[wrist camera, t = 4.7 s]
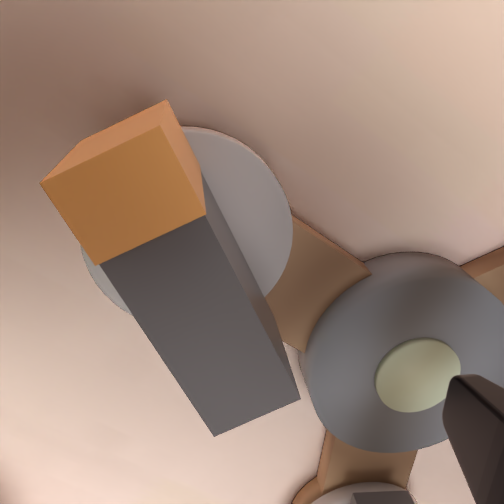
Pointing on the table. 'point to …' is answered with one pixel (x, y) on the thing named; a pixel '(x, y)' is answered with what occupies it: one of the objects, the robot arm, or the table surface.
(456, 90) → the table surface
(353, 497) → the knob
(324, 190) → the table surface
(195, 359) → the knob
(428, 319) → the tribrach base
